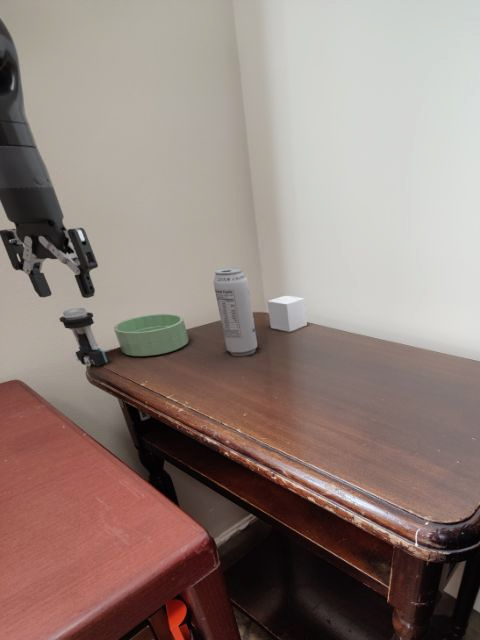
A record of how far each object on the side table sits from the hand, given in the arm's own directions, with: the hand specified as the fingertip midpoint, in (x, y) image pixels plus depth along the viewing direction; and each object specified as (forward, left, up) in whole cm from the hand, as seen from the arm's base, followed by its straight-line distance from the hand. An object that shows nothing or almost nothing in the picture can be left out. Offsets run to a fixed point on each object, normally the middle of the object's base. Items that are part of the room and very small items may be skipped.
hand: (67, 296), depth 69 cm
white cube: (+32, +25, -13) cm, 43 cm away
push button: (-1, 0, -13) cm, 13 cm away
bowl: (+7, +10, -13) cm, 18 cm away
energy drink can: (+27, +8, -13) cm, 31 cm away
